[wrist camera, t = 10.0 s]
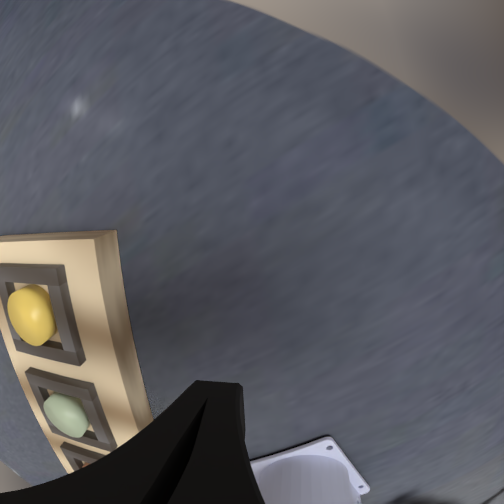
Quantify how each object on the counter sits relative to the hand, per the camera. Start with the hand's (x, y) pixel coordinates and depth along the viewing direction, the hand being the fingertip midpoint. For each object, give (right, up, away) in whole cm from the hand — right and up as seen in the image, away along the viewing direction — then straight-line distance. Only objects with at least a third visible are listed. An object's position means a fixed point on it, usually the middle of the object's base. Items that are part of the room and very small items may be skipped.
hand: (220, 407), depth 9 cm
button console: (-12, -6, +13) cm, 19 cm away
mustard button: (-13, +1, +8) cm, 15 cm away
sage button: (-12, -7, +10) cm, 18 cm away
